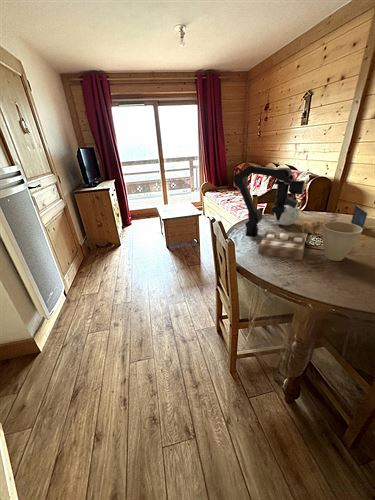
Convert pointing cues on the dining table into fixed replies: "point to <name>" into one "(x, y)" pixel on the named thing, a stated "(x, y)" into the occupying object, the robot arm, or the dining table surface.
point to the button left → (270, 236)
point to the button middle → (284, 236)
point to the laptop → (359, 217)
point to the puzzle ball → (288, 216)
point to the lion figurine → (312, 226)
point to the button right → (298, 239)
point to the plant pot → (339, 239)
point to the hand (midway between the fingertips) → (278, 220)
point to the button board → (282, 245)
